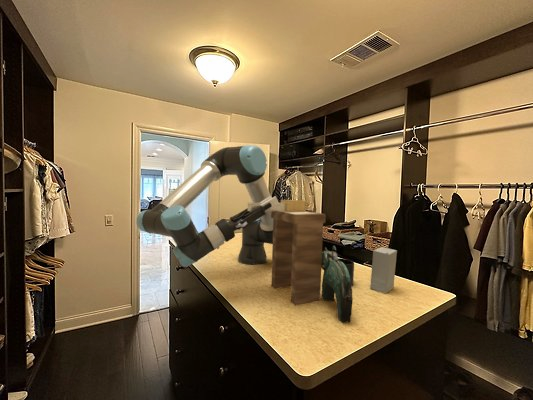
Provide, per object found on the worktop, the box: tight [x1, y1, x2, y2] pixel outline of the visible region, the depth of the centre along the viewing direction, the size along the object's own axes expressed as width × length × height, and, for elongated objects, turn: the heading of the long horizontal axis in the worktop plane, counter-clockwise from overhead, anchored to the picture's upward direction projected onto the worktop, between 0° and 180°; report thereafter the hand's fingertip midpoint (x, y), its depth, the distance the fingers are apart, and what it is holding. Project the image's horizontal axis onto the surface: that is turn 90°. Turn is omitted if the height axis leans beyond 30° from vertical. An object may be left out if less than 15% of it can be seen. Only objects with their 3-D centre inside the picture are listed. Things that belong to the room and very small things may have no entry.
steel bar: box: [247, 199, 307, 212], centre depth 94 cm, size 5×22×4 cm, turn 114°
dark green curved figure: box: [321, 245, 354, 323], centre depth 82 cm, size 20×6×20 cm, turn 4°
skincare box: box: [370, 246, 398, 294], centre depth 100 cm, size 8×7×16 cm
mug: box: [338, 257, 355, 286], centre depth 105 cm, size 9×12×9 cm
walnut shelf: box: [270, 210, 327, 306], centre depth 93 cm, size 18×12×30 cm, turn 25°
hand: (274, 199), depth 94 cm, fingers closed on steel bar, 3 cm apart
